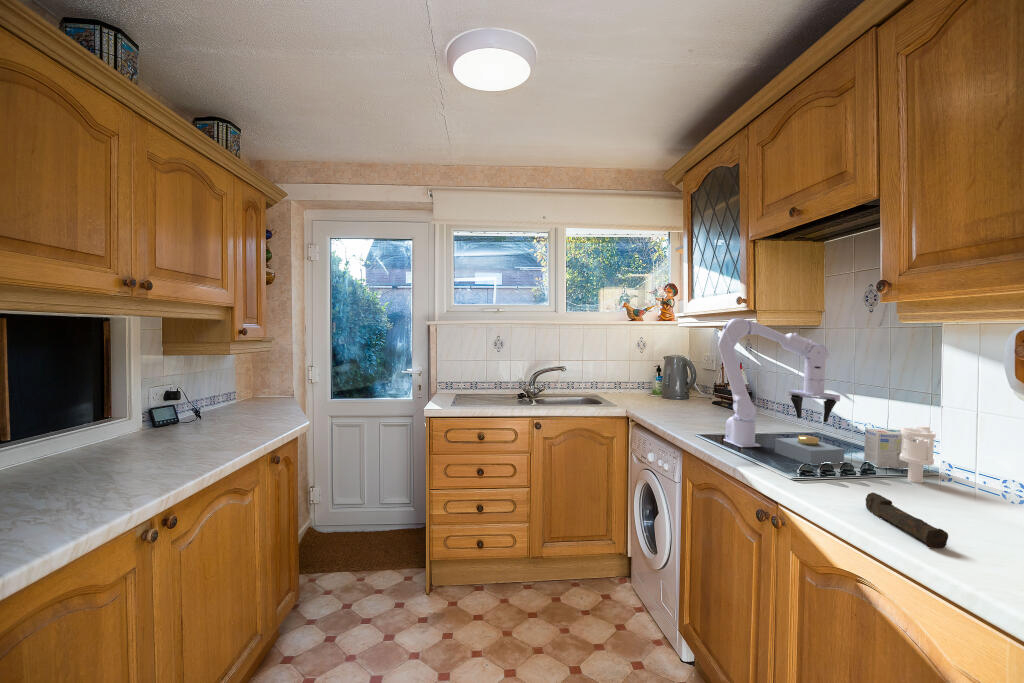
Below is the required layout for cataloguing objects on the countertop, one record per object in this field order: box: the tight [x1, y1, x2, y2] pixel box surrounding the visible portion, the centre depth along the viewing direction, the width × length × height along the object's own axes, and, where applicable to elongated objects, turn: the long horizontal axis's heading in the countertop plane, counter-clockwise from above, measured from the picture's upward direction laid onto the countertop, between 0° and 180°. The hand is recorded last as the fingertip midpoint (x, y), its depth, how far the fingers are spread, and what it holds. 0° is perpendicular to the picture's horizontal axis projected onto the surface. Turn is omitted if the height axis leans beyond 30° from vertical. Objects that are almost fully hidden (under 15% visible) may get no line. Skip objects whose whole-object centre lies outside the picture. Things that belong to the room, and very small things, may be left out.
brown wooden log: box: [865, 492, 949, 549], centre depth 97 cm, size 19×4×5 cm, turn 175°
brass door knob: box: [797, 434, 820, 446], centre depth 145 cm, size 6×6×6 cm
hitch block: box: [774, 437, 845, 465], centre depth 145 cm, size 14×12×4 cm
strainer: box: [899, 425, 937, 484], centre depth 125 cm, size 7×7×15 cm
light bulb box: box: [863, 428, 918, 468], centre depth 138 cm, size 11×7×11 cm, turn 84°
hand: (812, 419), depth 154 cm, fingers open, 7 cm apart
